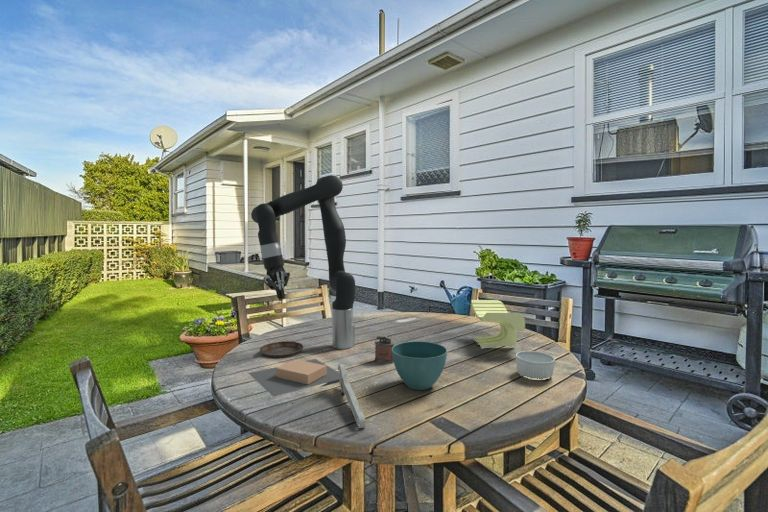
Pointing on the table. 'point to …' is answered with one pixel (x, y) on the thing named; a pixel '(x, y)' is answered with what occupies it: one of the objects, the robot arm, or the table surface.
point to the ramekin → (535, 364)
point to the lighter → (384, 349)
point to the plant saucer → (283, 345)
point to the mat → (285, 386)
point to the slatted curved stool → (498, 314)
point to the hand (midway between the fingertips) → (281, 298)
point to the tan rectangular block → (301, 371)
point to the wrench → (351, 397)
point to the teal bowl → (419, 363)
